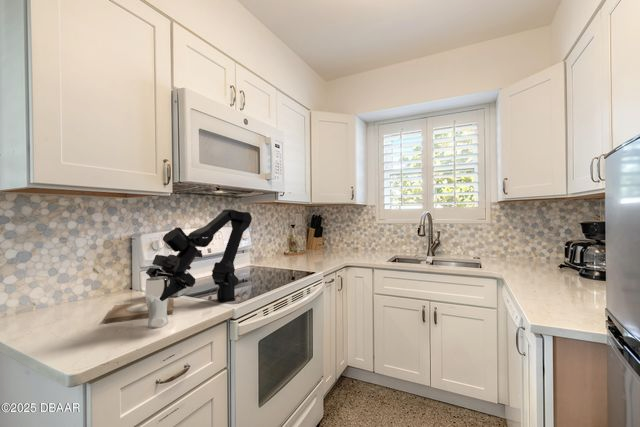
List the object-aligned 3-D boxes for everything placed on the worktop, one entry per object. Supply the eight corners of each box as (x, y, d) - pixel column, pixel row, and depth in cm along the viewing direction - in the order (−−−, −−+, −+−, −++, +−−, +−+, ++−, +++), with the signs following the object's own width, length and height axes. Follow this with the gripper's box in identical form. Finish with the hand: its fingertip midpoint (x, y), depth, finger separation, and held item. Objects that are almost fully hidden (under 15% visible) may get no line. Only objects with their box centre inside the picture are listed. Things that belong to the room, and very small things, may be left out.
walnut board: (173, 302, 118) (173, 297, 118) (172, 314, 103) (172, 309, 103) (114, 309, 109) (114, 304, 109) (104, 323, 95) (104, 318, 95)
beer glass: (164, 319, 99) (164, 275, 99) (173, 323, 94) (173, 277, 94) (142, 325, 93) (141, 278, 93) (150, 330, 89) (150, 281, 89)
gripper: (151, 244, 101) (117, 282, 91) (187, 246, 93) (155, 288, 83) (171, 263, 108) (142, 300, 98) (207, 267, 100) (179, 307, 90)
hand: (153, 299), depth 92 cm, fingers closed on beer glass, 7 cm apart
